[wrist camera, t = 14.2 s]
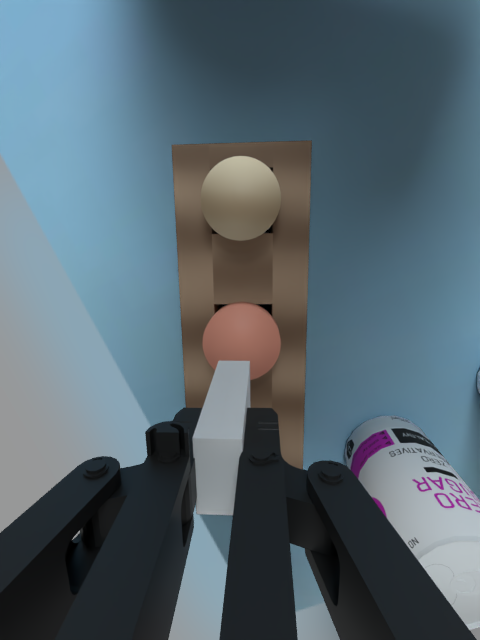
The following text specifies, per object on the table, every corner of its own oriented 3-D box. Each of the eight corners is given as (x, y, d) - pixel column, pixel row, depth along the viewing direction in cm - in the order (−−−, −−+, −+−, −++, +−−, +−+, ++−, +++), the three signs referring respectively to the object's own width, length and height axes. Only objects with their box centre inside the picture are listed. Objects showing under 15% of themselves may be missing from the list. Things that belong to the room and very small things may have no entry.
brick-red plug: (213, 291, 32) (200, 305, 25) (276, 290, 32) (281, 305, 25) (215, 350, 33) (204, 380, 26) (276, 351, 33) (280, 381, 26)
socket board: (188, 161, 32) (171, 144, 26) (302, 158, 31) (311, 140, 25) (200, 445, 38) (190, 482, 32) (295, 446, 37) (302, 485, 32)
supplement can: (351, 488, 38) (406, 644, 24) (337, 420, 36) (387, 542, 22) (429, 475, 37) (537, 629, 23) (418, 404, 36) (528, 521, 21)
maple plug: (212, 174, 31) (198, 157, 24) (276, 172, 31) (281, 154, 24) (214, 240, 32) (202, 241, 26) (276, 239, 32) (280, 240, 25)
